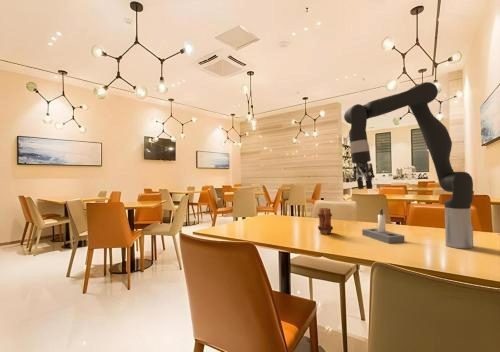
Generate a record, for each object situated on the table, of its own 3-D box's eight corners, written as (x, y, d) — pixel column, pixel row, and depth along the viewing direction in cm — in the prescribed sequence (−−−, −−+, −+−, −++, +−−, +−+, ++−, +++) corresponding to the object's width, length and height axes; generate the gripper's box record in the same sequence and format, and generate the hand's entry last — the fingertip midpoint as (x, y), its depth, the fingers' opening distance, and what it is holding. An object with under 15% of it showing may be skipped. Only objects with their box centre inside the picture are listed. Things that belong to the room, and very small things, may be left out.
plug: (382, 237, 142) (381, 208, 142) (387, 238, 138) (386, 209, 138) (377, 237, 141) (376, 209, 141) (381, 239, 138) (380, 209, 138)
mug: (317, 231, 160) (316, 206, 160) (331, 231, 159) (330, 206, 159) (320, 237, 146) (319, 209, 146) (335, 237, 144) (335, 209, 145)
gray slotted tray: (376, 233, 150) (376, 228, 150) (404, 241, 131) (404, 235, 131) (362, 234, 148) (362, 229, 148) (388, 243, 129) (388, 237, 129)
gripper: (376, 148, 110) (381, 187, 109) (361, 152, 124) (366, 188, 123) (358, 150, 110) (363, 190, 109) (345, 154, 124) (350, 189, 123)
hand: (365, 188), depth 116 cm, fingers open, 8 cm apart
